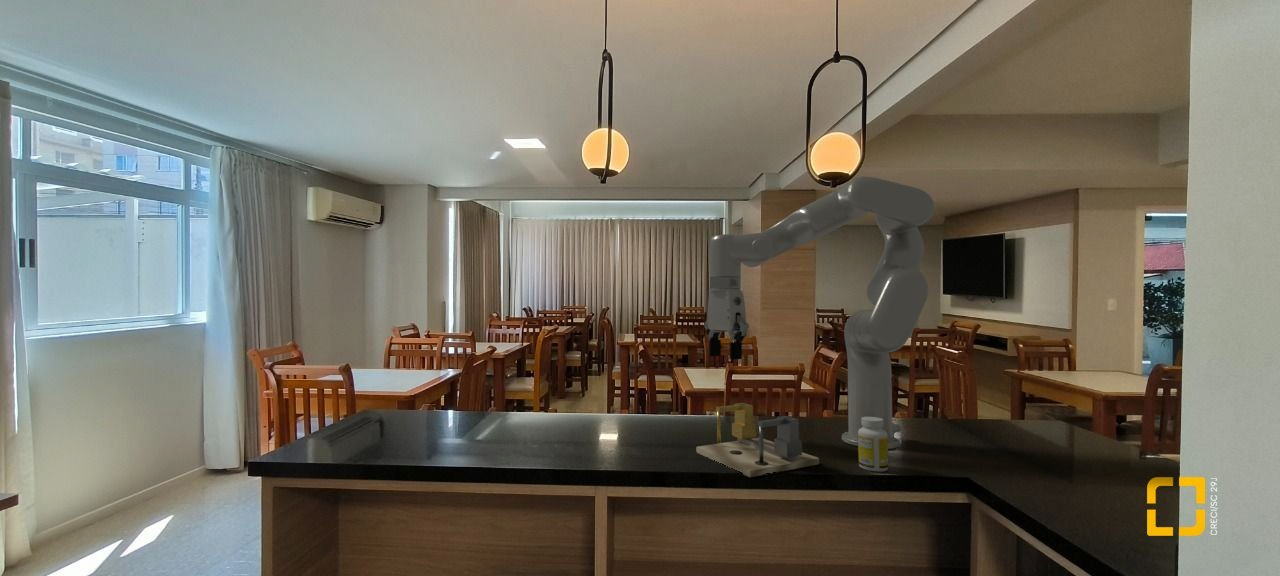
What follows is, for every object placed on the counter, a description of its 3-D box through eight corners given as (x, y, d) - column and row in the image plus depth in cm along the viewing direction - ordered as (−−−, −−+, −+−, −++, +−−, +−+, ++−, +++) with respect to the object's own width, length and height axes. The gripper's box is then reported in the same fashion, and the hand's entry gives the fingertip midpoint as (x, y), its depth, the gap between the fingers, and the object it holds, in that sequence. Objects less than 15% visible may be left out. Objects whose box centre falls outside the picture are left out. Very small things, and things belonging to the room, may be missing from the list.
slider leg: (745, 436, 114) (745, 402, 114) (755, 439, 111) (755, 405, 111) (712, 440, 110) (712, 405, 110) (722, 444, 107) (722, 408, 107)
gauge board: (759, 442, 116) (759, 433, 116) (819, 464, 100) (818, 453, 100) (696, 452, 107) (696, 442, 108) (749, 477, 91) (749, 465, 92)
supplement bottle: (885, 465, 99) (884, 416, 100) (891, 473, 94) (890, 422, 95) (856, 462, 101) (855, 415, 101) (860, 471, 96) (860, 420, 96)
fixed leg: (789, 454, 102) (788, 415, 102) (801, 458, 98) (801, 418, 99) (753, 460, 97) (753, 419, 98) (766, 465, 94) (765, 423, 95)
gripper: (761, 284, 113) (761, 360, 113) (716, 287, 129) (716, 354, 128) (735, 283, 110) (735, 361, 109) (692, 286, 125) (692, 355, 125)
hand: (725, 357), depth 119 cm, fingers open, 7 cm apart
